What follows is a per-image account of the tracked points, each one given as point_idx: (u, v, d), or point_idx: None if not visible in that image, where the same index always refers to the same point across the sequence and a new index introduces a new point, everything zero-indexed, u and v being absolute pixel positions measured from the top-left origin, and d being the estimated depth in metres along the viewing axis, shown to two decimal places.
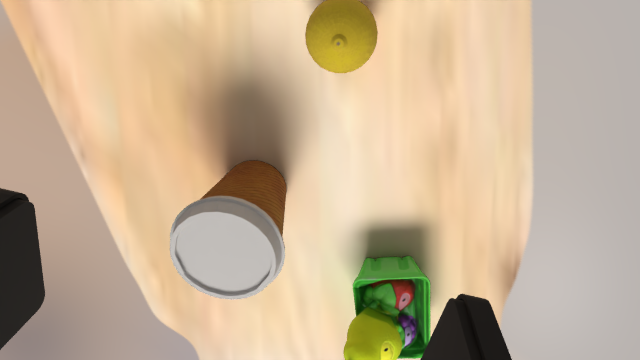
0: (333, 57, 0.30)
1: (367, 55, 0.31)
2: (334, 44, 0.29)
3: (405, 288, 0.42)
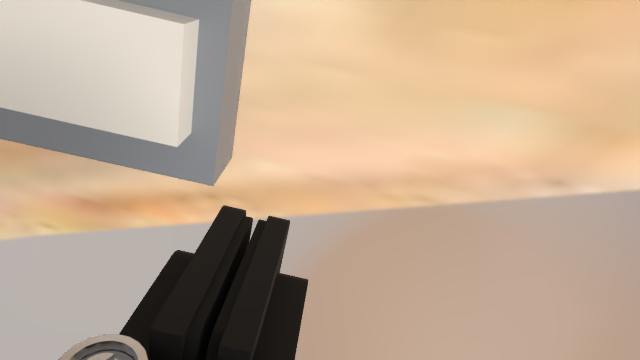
0: None
1: None
2: None
3: None
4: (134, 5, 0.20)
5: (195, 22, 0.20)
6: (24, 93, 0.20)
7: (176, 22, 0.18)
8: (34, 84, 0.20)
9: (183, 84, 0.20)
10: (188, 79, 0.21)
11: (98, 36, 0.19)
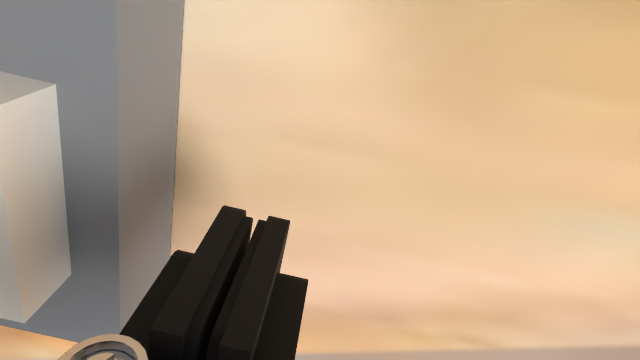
0: None
1: None
2: None
3: None
4: None
5: (42, 92, 0.10)
6: None
7: None
8: None
9: (19, 217, 0.10)
10: (39, 200, 0.10)
11: None
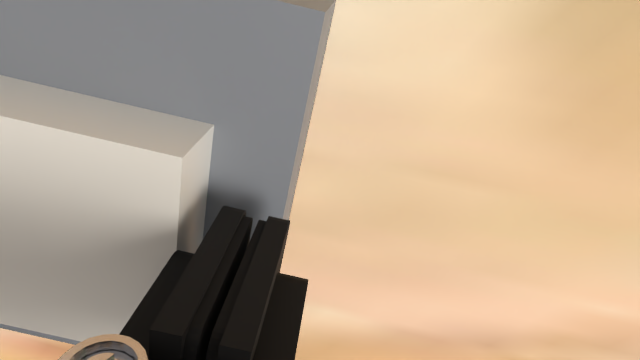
0: None
1: None
2: None
3: None
4: (83, 100, 0.10)
5: (207, 135, 0.10)
6: None
7: (165, 153, 0.08)
8: None
9: None
10: (191, 239, 0.10)
11: (0, 175, 0.09)
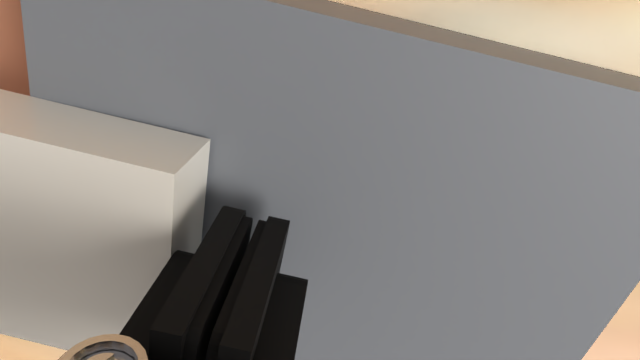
0: None
1: None
2: None
3: None
4: (81, 114, 0.10)
5: (202, 150, 0.10)
6: None
7: (158, 169, 0.08)
8: None
9: None
10: None
11: None
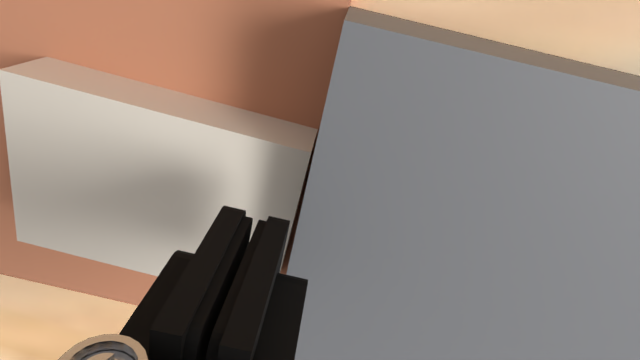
0: None
1: None
2: None
3: None
4: (225, 108, 0.13)
5: (315, 136, 0.13)
6: (54, 225, 0.14)
7: (299, 149, 0.12)
8: (70, 215, 0.14)
9: None
10: None
11: (174, 160, 0.12)
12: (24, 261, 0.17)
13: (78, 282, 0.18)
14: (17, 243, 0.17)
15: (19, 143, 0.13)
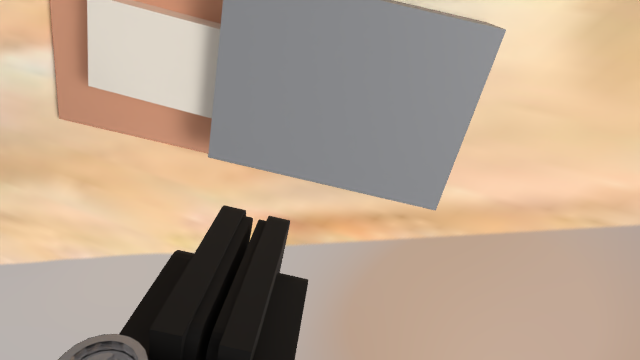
0: None
1: None
2: None
3: None
4: (189, 16, 0.28)
5: None
6: (107, 76, 0.29)
7: None
8: (115, 69, 0.28)
9: None
10: None
11: (165, 37, 0.27)
12: (85, 112, 0.32)
13: (114, 125, 0.32)
14: (83, 100, 0.32)
15: (93, 30, 0.27)
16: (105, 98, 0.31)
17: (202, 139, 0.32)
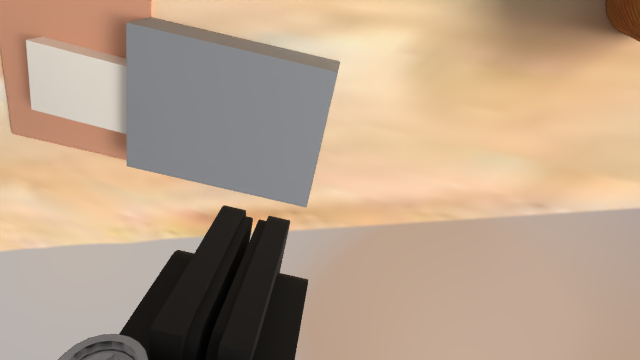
0: None
1: None
2: None
3: None
4: (109, 55, 0.35)
5: None
6: (45, 102, 0.36)
7: None
8: (52, 97, 0.36)
9: None
10: None
11: (88, 73, 0.35)
12: (33, 129, 0.40)
13: (57, 139, 0.40)
14: (30, 119, 0.39)
15: (32, 67, 0.35)
16: (48, 117, 0.39)
17: None
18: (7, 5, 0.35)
